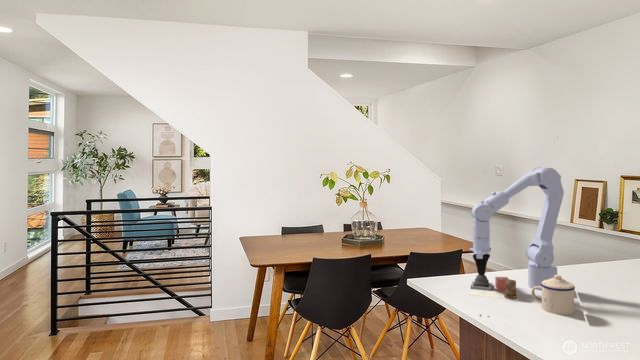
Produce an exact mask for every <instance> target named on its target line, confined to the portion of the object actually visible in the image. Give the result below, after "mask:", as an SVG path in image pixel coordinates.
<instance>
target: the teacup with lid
mask: <svg viewBox="0 0 640 360" xmlns="http://www.w3.org/2000/svg"><path fill="white" fill-rule="evenodd" d="M541 285H542V287H541V286H535V287H533V288H531V296H532V298H533V299H534V300H535V301H536V302H538V303H541V309H542V310H543V311H545V312H546V313H549V314H552V315H562V316H563V315H564V316H567V315H568V316H569V315H573V314H574V313H575V289H576V287H575V285H574V284H573V283H572V282H570V281H567V280H566V279H564V278H562V275H560V274H557V275H554V278H551V279H549V280H544V281H542V283H541ZM537 289H542V290H541V299H540V298H538V297H537V295H536V294H535V290H537Z"/></svg>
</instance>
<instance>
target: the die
mask: <svg viewBox="0 0 640 360" xmlns="http://www.w3.org/2000/svg"><path fill="white" fill-rule="evenodd" d="M494 280H495V282H494V286H495V289H496V290H497V291H501V292H502V291H503V292H506V280H510V278H508V276H495V277H494Z"/></svg>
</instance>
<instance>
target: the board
mask: <svg viewBox="0 0 640 360" xmlns="http://www.w3.org/2000/svg"><path fill="white" fill-rule="evenodd" d="M469 286H470V289H472V290H470V291H469V292H468V296H473V297H474V296H475V297H483V296H484V293H485V292H481V290H482V291H490V292H486V294H485V297H486V298H492V299H493V298H494V299H501V297H502V296H501V295H502V294H501V293H495V292H494V293H492V292H491V291H492V290H493V282H489V287H479V286H475V280H472V282H471V284H470V285H469ZM473 290H479V291H473ZM502 299H503V300H508V299H507V298H505V297H504V295H503V297H502ZM509 300H510V301H511V300H512V301H519V297H518V298H517V299H509Z"/></svg>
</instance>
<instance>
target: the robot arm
mask: <svg viewBox="0 0 640 360" xmlns="http://www.w3.org/2000/svg"><path fill="white" fill-rule="evenodd" d="M561 179H562V175H561V174H560V173H559V172H558V171H557V170H556V169H555V168H553V167H540V166H539V167H534V168H533V169H532V170H529V171H528V172H526V173H525V174H524V175H522V176H521V177H520V178H519V179H517V180H516V181H515V182H513V183H512V184H511V185H509V186H508V187H507V188H506V189H504V190H503V191H500V190H497V191H492V192H491V193H490V194H491V195H490V196H488V197H487V198H486V199H482V200H480V203H477V204H475V205H473V207H472V208H471V211H470V214H471V216H472V218H473V220H472V247H469V252H473V255H472V258H473V260H474V261H475V266H476V270H477V274H478V275H486V270H487V265H488V261H489V259H490V258H491V254H490V253H491V247H490V246H491V237H490V236H491V234H490V233H491V232H490V231H491V230H490V227H491V224H490V220H491V219H492V216H493V215H494V214H495V213H497V212H499V211H500V210H501V209H502V208H505V207H506V206H507V205H508V204H509V201H510V199H511V198H513V197H515V196H516V195H518V194H519V193H520V192H522V191H523V190H525V189H527V188H529V187H538V188H540V189H541V191H543V193H544V194H545V197H544V198H545V199H544V202H543V205H542V210H541V214H540V218H539V222H538V224H537V225H538V226H537V229H536V234H535V237H533V238H532V239H531V242H530V244H529V245H528V247H527V248H526V250H525V256H526V258H527V259H528V262H527V263H528V266H527V267H528V273H527V274H528V283H527V284H528V288H530V289H532V288H533V287H535V286H541V287H542V285H541V283H542V281H544V280H549V279H551V278H554V275H558V267H557V266H554V265H552V264H553V262H554V260H555V255H554V245H553V237H554V233H555V229H556V226H557V221H558V218H559V214H560V210H561V206H562V203H563V199H564V194H565V191H564V188H563V184H562V181H561ZM537 290H539V291H542V289H536V291H537Z"/></svg>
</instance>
